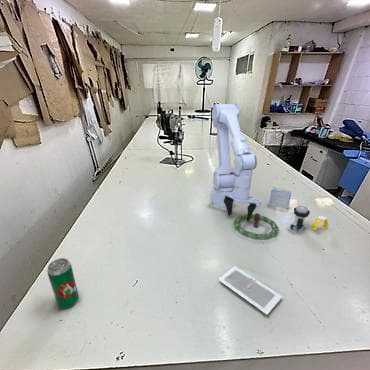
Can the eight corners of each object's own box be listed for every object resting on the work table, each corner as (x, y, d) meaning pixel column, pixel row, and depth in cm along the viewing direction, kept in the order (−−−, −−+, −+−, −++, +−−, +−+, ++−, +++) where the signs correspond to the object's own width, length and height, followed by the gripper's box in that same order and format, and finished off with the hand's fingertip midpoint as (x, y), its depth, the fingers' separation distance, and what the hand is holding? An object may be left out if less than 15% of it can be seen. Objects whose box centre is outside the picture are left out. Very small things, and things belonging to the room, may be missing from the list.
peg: (241, 230, 89) (243, 215, 87) (248, 221, 95) (250, 207, 93) (262, 237, 85) (265, 222, 83) (268, 227, 91) (271, 213, 89)
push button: (300, 226, 93) (306, 203, 89) (310, 233, 88) (317, 210, 84) (286, 228, 91) (291, 205, 87) (295, 236, 86) (301, 212, 82)
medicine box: (288, 207, 106) (292, 190, 103) (286, 212, 103) (290, 194, 99) (270, 203, 110) (273, 186, 107) (268, 207, 107) (271, 189, 103)
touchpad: (266, 317, 56) (267, 311, 55) (217, 282, 66) (218, 276, 65) (281, 299, 61) (283, 293, 60) (234, 268, 71) (234, 263, 70)
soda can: (61, 293, 62) (51, 257, 57) (81, 292, 62) (73, 256, 57) (53, 310, 57) (42, 272, 52) (75, 309, 58) (65, 271, 53)
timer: (321, 227, 91) (325, 214, 89) (327, 231, 89) (331, 218, 87) (309, 230, 90) (313, 217, 87) (315, 234, 87) (319, 220, 85)
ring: (226, 232, 88) (227, 227, 87) (242, 214, 101) (243, 209, 100) (271, 248, 80) (272, 242, 79) (282, 226, 93) (283, 220, 92)
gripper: (220, 184, 88) (217, 216, 93) (258, 194, 80) (253, 227, 86) (227, 179, 93) (225, 209, 99) (264, 187, 86) (259, 219, 91)
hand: (238, 217), depth 93 cm, fingers open, 7 cm apart
